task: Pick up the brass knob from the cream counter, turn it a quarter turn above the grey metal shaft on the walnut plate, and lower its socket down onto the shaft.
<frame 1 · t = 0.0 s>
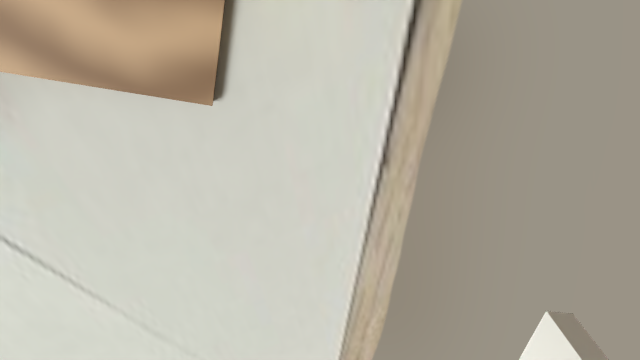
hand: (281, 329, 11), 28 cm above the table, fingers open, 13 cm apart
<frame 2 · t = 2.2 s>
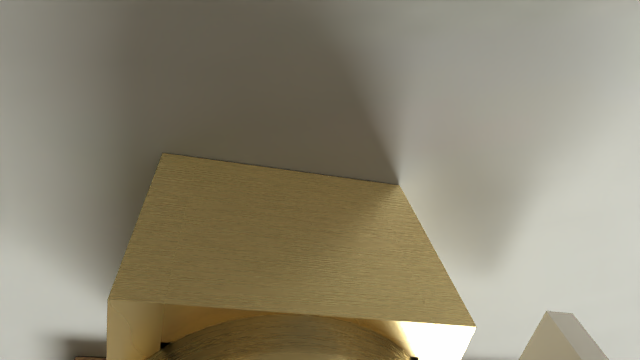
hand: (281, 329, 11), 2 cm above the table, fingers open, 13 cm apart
knob: (267, 264, 13), on the table
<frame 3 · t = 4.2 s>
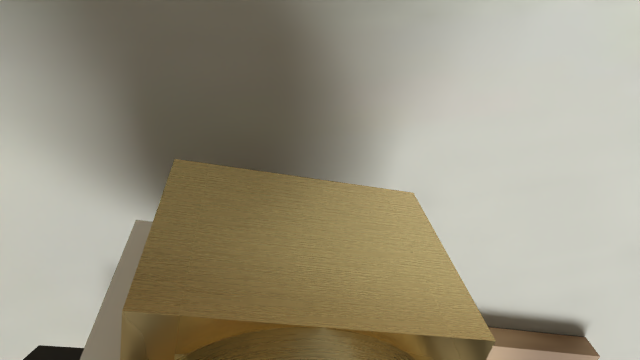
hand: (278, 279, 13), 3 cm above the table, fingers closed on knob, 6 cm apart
knob: (278, 271, 13), point 3 cm above the table, touching gripper
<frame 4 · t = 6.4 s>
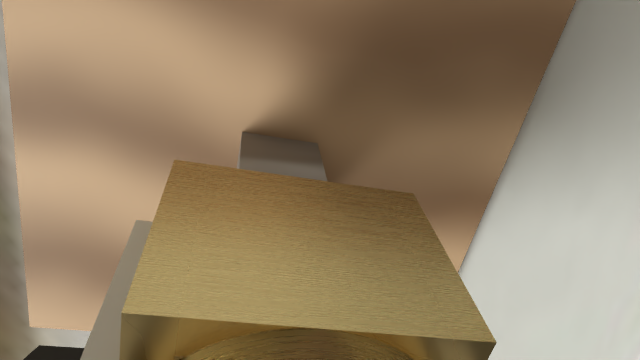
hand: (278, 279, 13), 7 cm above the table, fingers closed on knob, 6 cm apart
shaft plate: (273, 159, 19), on the table
knob: (278, 272, 13), point 7 cm above the table, touching gripper
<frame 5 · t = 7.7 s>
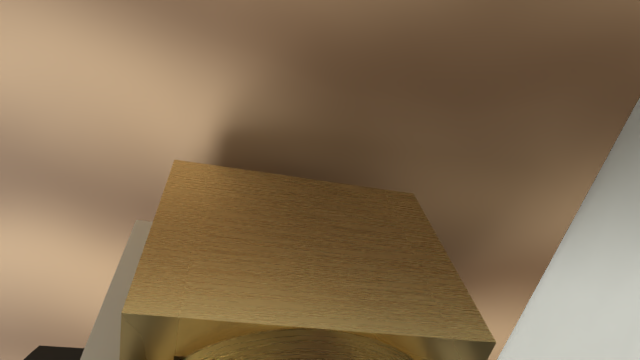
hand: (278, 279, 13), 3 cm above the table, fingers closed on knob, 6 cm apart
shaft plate: (277, 221, 15), on the table
knob: (278, 272, 13), point 2 cm above the table, touching gripper
when the fingers open (2 cm above the table, at t = 8.6 s): knob stays where it is, resting on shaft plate.
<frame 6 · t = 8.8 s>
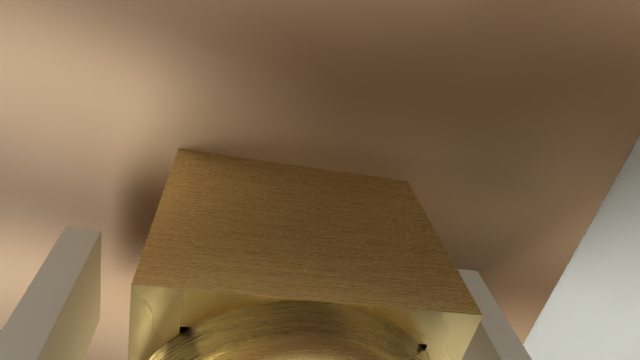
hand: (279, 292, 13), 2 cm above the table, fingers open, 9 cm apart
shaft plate: (276, 238, 15), on the table
knob: (278, 258, 14), point 1 cm above the table, touching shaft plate
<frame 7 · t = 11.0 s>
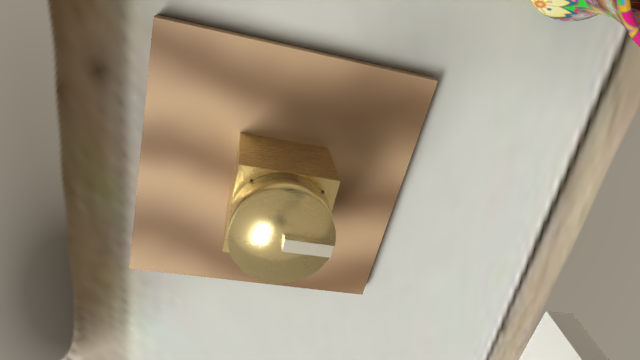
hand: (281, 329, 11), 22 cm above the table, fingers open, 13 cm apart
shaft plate: (275, 173, 34), on the table
knob: (276, 179, 33), point 1 cm above the table, touching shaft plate
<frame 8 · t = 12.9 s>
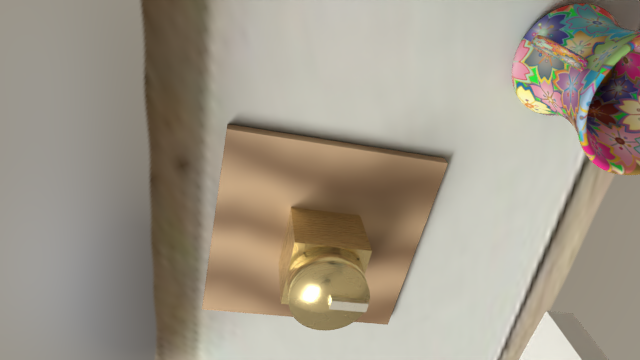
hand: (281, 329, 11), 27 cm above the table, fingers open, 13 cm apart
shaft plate: (317, 233, 43), on the table
mug: (545, 50, 37), on the table
knob: (318, 240, 42), point 1 cm above the table, touching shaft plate
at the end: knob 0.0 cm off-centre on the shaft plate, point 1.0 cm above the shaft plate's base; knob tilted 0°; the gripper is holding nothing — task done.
